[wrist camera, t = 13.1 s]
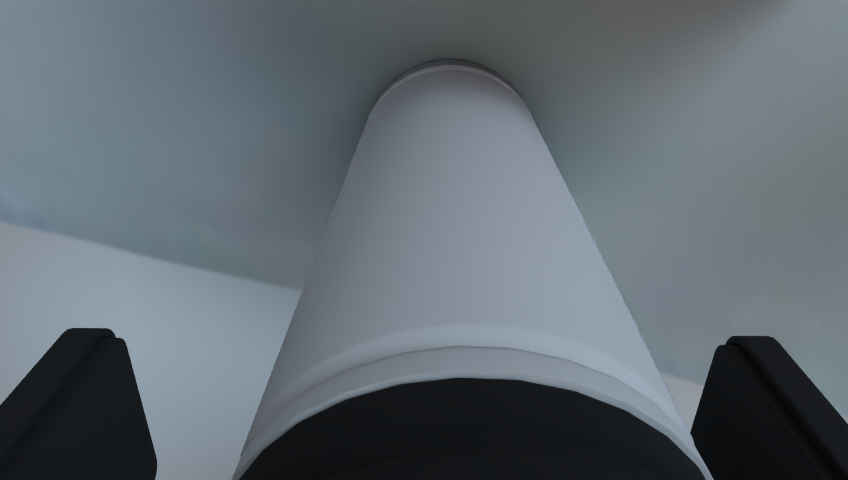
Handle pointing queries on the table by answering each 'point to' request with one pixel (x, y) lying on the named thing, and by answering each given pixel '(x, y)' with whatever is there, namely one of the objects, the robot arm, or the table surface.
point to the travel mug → (462, 315)
